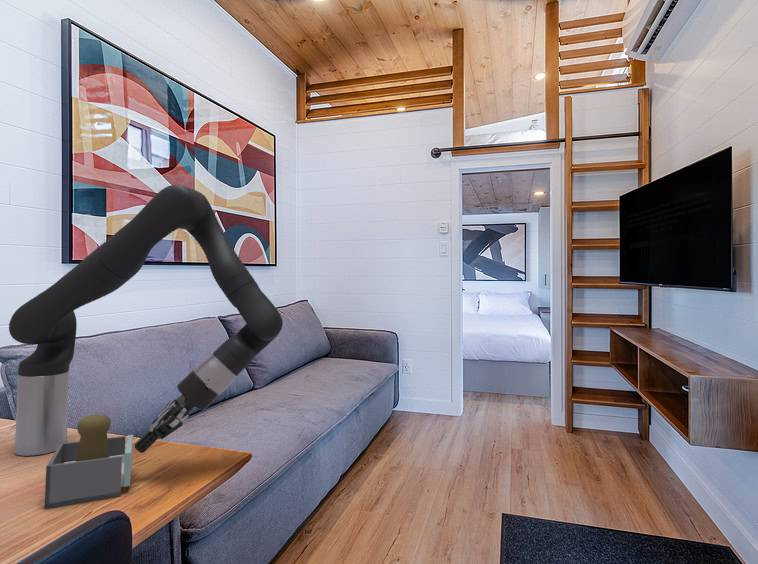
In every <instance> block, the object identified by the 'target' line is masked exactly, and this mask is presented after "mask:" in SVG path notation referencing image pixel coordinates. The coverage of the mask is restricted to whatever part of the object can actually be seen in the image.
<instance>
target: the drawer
mask: <svg viewBox="0 0 758 564" xmlns="http://www.w3.org/2000/svg"><path fill="white" fill-rule="evenodd" d="M133 445H134V434H128V435H127V436H126V441H125V454H124V455H116V456H122V471H121V487H123V488H126V487H130V486H131V477H132V470H133V469H132V468H133V455H134V454H133V450H134V449H133V448H134V446H133ZM109 457H115V456H109ZM70 462H76V461H70ZM70 462H64V463H70Z"/></svg>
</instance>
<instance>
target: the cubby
mask: <svg viewBox="0 0 758 564" xmlns="http://www.w3.org/2000/svg"><path fill="white" fill-rule="evenodd" d="M107 439H108V448H109V456H115V457H108V458H100V459H93V460H85V461H77V462H70V461H76V457H77V452H78V447H79V442H80V440H77V441H71V442H69V441H67V442H66V443H60V444H59V446H58V448H57V449H56V451H54V453H53V455H52V457H50V459H49V461H48V463H47V465H46V467H45V468H46V469H45V487H44V490H45V491H44V510H46V509H54V508H59V507H66V506H71V505H78V504H82V503H88V502H95V501H99V500H108V499H112V498H118V497H121V493H122V487H123V486H122V487H121V471H122V456H116V455H124V454H125V448H126V435H123V436H121V435H120V436H113V437H107ZM64 462H70V463H64Z"/></svg>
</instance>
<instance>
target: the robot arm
mask: <svg viewBox="0 0 758 564" xmlns="http://www.w3.org/2000/svg"><path fill="white" fill-rule="evenodd" d="M179 229H180V230H186V231H187V232H188V233H189V234H190V236H192V237H193V239H194V240H195V241H196V242H197V244H198V245H199V246H200V248H201V249H202V251H203V253H204V255H205V256H206V257H205V258H206V260H207V263H208V265H209V269H210V272H211V275H212V277H213V279H214V280H215V282H216V284H217V285H218V287H219V288H220V290H221V291H222V293H223V294H224V295H225V297H226V299H227V300H228V302H230V304H231V305H232V306H233V307H234V308H235V309H236V310H237V311H238V312H239V314H240V316H241V318H242V319H243V320H244V321H245V325H244V326H243V327H242V328H240V329H239V330H238V331H237V333H235V334H234V335H233V336H231V337H229V338H228V339H226V340H225V341H224V342H222V344H220V346H219V347H218V348H217V349H216V350H214V351H213V352H212V353H211V354H210V355H209V356H208V357H206V358H204V360H202V361H200V363H199V364H198V365H197V366H196V367H195V368H193V370H192V371H190V372H189V373H188V374H187V375H186V377H184V378H182V380H181V381H180V382H179V383H178V384H176V385H177V386H176V388H177V390H178V392H179V393H180V394H181V395H179V397H177V398H173V399H171V400H170V401H169V402H167V404H166V405H165V407H164V408H163V409H162V410H161V411H160V413H158V415H157V417H156V418H155V419H154V420H153V421H152V422H151V423H152V425H150V426H149V429H148V430H147V431H146V432H145V433H144V434H143V435H142V436H141V437H140V438H139V439H138V440H137V441H136V442H135V443H134V449H135V450H136V451H137V452H138V453H140V454H144V453H145V452H146V451H147V450H149V448H150V447H151V446H152V445H153V444H155V442H157V440H160V439H161V440H164V439H165V438H166V437H168V436H169V435H170V434H172V433H174V432H175V431H177V430H178V429H180V428H181V427H182V426H183V424H184V421H185V420H187V419H188V417H190V415H191V414H190V412H191V411H192V410H193V409H194V408H197V409H198V410H200V411H205V410H207V408H208V407H210V405H211V404H212V403H213V402H214V401H215V400H217V399H218V398H219V396H220V395H221V394H222V393H223V392H224V391H225V390H226V389H228V387H229V386H230V385H231V383H233V381H234V380H235V379H236V378H237V376H239V375H240V374H241V372H243V370H245V369H246V367H247V366H248V365H249V364H250V363H251V362H252V360H253V359H254V358H255V357H256V356H257V355H258V354H260V352H262V351H263V350H264V349H265V348H266V347H268V345H269V344H270V343H272V342H273V341H274V340H275V339H276V338H277V337H278V336H279V334H280V333H281V331H282V329H283V326H284V325H283V324H284V322H283V317H282V315H281V313H280V312H279V310H278V309H277V308H276V306H275V305H274V303H273V302H272V301H271V300H270V299H269V297H268V296H267V295H266V294H265V293H264V292H263V291H262V289H261V288H260V286H259V285H258V283H257V282H256V280H255V278H254V277H253V275H252V274H251V273H250V271H249V270H248V268H247V267H246V266H245V264H244V263H243V262H242V260H241V259H240V257H239V256H238V254H237V252H236V251H235V249H234V248H233V246H232V245H231V243H230V241H229V239H228V238H227V235H226V234H225V232H224V230H223V228H222V226H221V225H220V222H219V221H218V217H217V216H216V214H215V212H214V209H213V207H212V206H211V203H210V201H209V199H208V198H207V197H206V196H205V195H204V194H203V193H202V192H200V191H199V190H196V189H194V188H191V187H187V186H186V185H183V184H182V185H181V184H171V185H168V186H166V187H163V188H162V189H161V190H160V191H158V192H157V193H156V194H155V195H154V196H153V197H152V198H151V200H149V201H148V202H147V203H146V205H144V206H143V208H142V209H141V210H140V211H139V212H138V213H137V214H136V215H135V216H134V217H133V218H132V219H131V220H129V221H128V222H127V223H126V224H125V225H124V226H122V227H121V228H120V229H119V230H118V231H117V232H115V233H114V234H113V235H112V236H110V238H108V239H106V240H105V242H103V243H102V244H100V245H98V247H96V248H95V249H94V250H93V251H92V252H91V253H89V254H88V255H86V257H84V258H83V260H81V261H80V263H78V264H77V265H75V266H74V267H73V268H72V269H71V270H69V271H68V272H66V274H64V275H63V276H62V277H61V278H60V279H58V280H57V281H55V283H54V284H52V285H51V286H50V287H48V288H46V289H45V290H43V291H42V292H40V293H39V294H37V295H35V296H34V297H33V298H31V299H29V300H28V301H25V303H23V304H22V305H21V306H20V307H18V308H17V309H16V310H15V312H14V313H13V314H12V316H11V318H10V319H9V323H8V332H9V334H10V336H11V338H12V339H13V340H15V341H16V342H18V343H20V344H25V345H37V347H36V349H35V350H34V351H33V352H32V353H31V354H30V355H29V356H27V357H26V358H24V359H22V360H21V361H20V362H19V363H18V368H17V370H18V371H17V393H16V414H15V415H16V416H15V432H14V433H15V434H14V437H15V438H14V454H15V455H17V456H21V457H23V456H26V457H27V456H28V457H29V456H38V455H45V454H49V453H53V452H55V451H56V449H57V448H58V446H59V444H60V443H67V442H68V425H69V423H68V420H69V380H70V379H69V378H70V364H71V362H72V360H73V358H74V355H75V346H76V337H77V325H78V324H77V322H78V321H77V317H76V313H75V310H77V309H79V308H81V307H83V306H85V305H87V304H90V303H92V302H95V301H97V300H100V299H101V298H103V297H106V296H108V295H110V294H112V293H113V292H116V291H117V290H118V289H119V288H121V287H122V286H123V285H125V284H126V283H127V282H129V281H130V280H131V279H133V277H134V276H136V274H138V273H139V271H140V270H141V269H142V267H143V266H144V264H145V262H146V261H147V258H148V256H149V255H150V252H151V251H152V249H153V248H154V247H155V246H156V245H158V243H159V242H161V241H162V240H163V239H165V238H166V237H167V236H169V235H170V234H172V233H173V232H175V231H176V230H179Z"/></svg>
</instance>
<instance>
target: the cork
mask: <svg viewBox="0 0 758 564" xmlns="http://www.w3.org/2000/svg"><path fill="white" fill-rule="evenodd" d="M111 421H112V420H111V418H110V417H109V416H108V415H106V414H102V413H101V414H90V415H87V416H84V417H82V418H81V419H80V420H79V421H78V423H77V426H76V429H77V433H78V434H79V435H80V439H79V441H80V442H79V447H78V452H77V457H76V462H77V461H85V460H93V459H100V458H108V457H109V448H108V439H107V438H108V431H109V430H110V427H111Z"/></svg>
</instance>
